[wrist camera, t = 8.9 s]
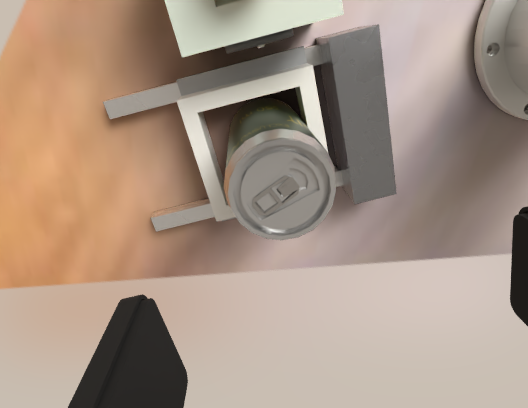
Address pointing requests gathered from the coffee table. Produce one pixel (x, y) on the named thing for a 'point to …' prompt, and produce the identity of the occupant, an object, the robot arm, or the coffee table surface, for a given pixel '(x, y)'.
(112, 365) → the robot arm
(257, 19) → the pale green hollow cube
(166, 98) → the rail track
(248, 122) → the beer can
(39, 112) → the coffee table surface
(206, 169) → the frame
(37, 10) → the coffee table surface
